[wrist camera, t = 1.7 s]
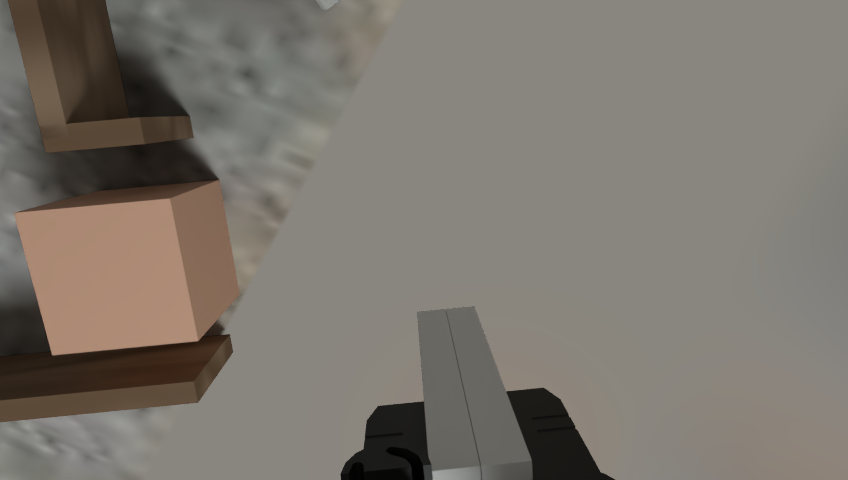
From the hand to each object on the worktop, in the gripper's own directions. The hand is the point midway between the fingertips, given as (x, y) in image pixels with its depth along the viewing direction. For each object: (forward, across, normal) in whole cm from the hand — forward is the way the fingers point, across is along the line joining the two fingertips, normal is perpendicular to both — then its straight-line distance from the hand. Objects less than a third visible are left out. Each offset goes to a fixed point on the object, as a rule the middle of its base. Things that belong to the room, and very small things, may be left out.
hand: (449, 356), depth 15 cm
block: (+18, -15, 0) cm, 24 cm away
